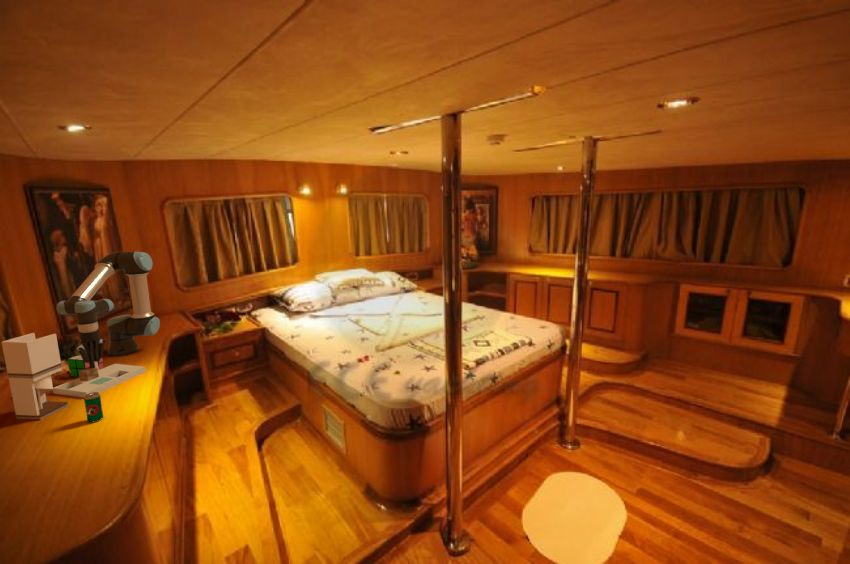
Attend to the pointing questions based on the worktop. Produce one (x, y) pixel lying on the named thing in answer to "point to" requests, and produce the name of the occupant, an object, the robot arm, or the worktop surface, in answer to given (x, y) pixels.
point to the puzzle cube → (80, 365)
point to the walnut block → (88, 374)
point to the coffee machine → (32, 374)
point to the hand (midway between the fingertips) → (95, 373)
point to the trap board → (99, 380)
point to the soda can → (93, 406)
